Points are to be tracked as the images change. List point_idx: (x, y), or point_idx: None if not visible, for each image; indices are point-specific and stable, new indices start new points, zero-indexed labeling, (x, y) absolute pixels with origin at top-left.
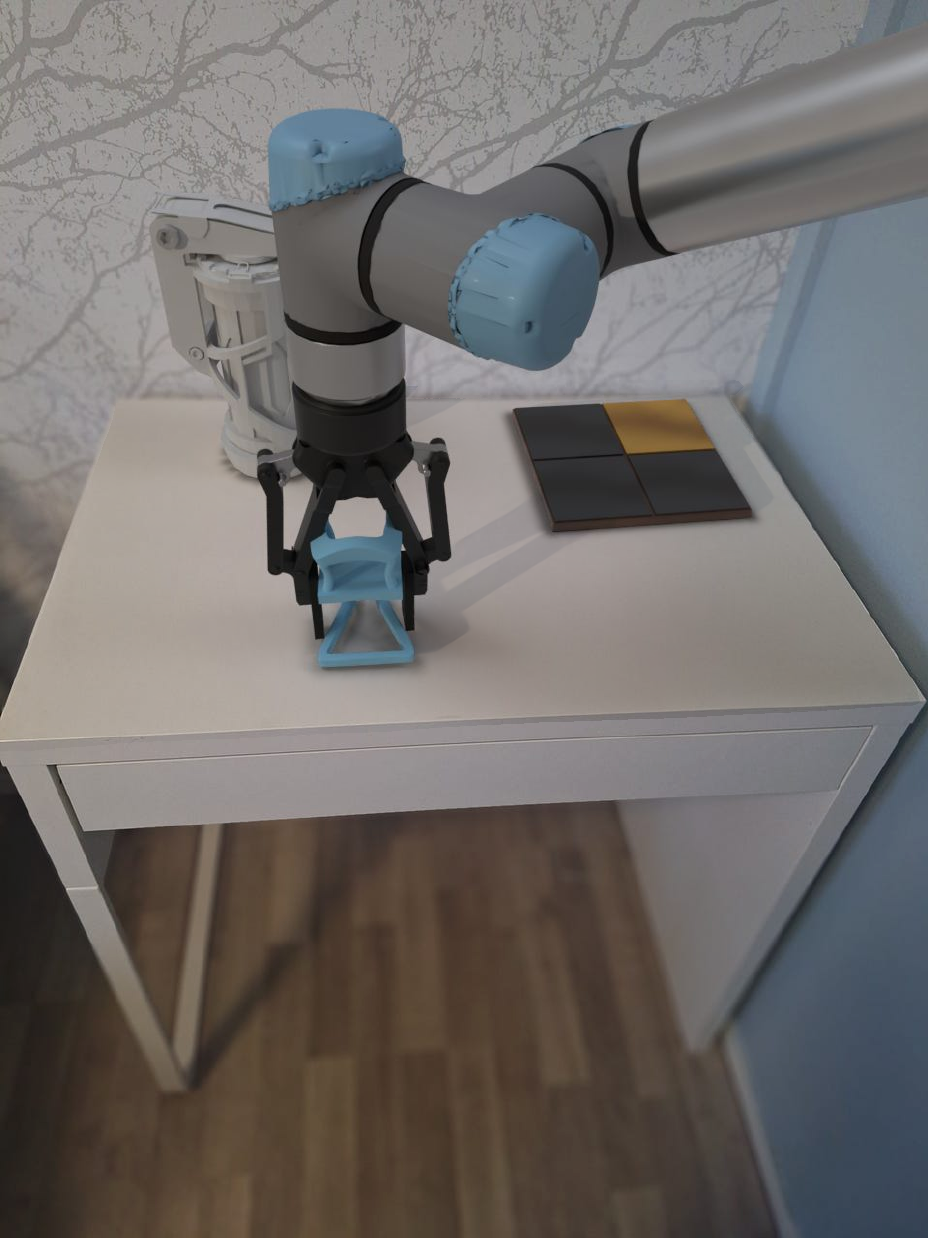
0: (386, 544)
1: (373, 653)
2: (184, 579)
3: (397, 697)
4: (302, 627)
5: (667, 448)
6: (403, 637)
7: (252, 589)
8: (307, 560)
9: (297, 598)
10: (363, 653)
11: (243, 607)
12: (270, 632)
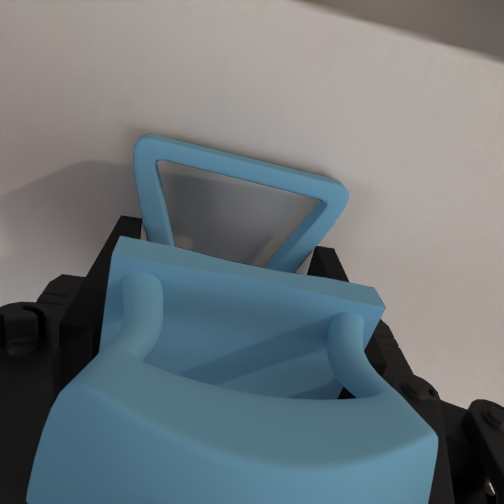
0: (114, 453)
1: (230, 169)
2: None
3: (202, 47)
4: None
5: None
6: (150, 196)
7: None
8: None
9: (387, 331)
10: (252, 177)
11: (413, 357)
12: (393, 295)
